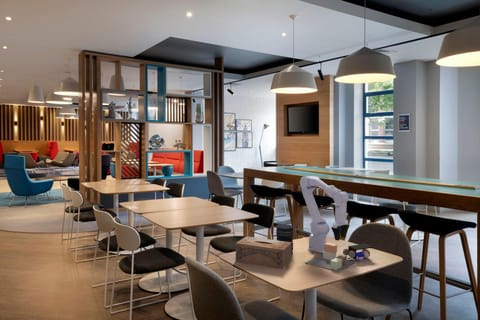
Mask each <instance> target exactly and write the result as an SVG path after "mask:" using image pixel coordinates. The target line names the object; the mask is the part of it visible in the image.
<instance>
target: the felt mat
mask: <svg viewBox="0 0 480 320" xmlns="http://www.w3.org/2000/svg"><path fill="white" fill-rule="evenodd" d="M351 260H352V259H347V263H346V264H345V265H343V266H342V267H341V268H339V269H337V270H334V269H331V268H330V265H331V260H328V259H324V258H323V253H321V254H320V255H318V256H316V257H313V258H311V259H310V260H307V261H305V262H304V264H307V265H311V266H315V267H318V268H322V269H326V270H330V271H332V272H333V271H334V272H337V273H340V272H341V271H344V270H345V269H348V267H350V266H352V265H354V264H355V263H356V260H352V261H351Z"/></svg>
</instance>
